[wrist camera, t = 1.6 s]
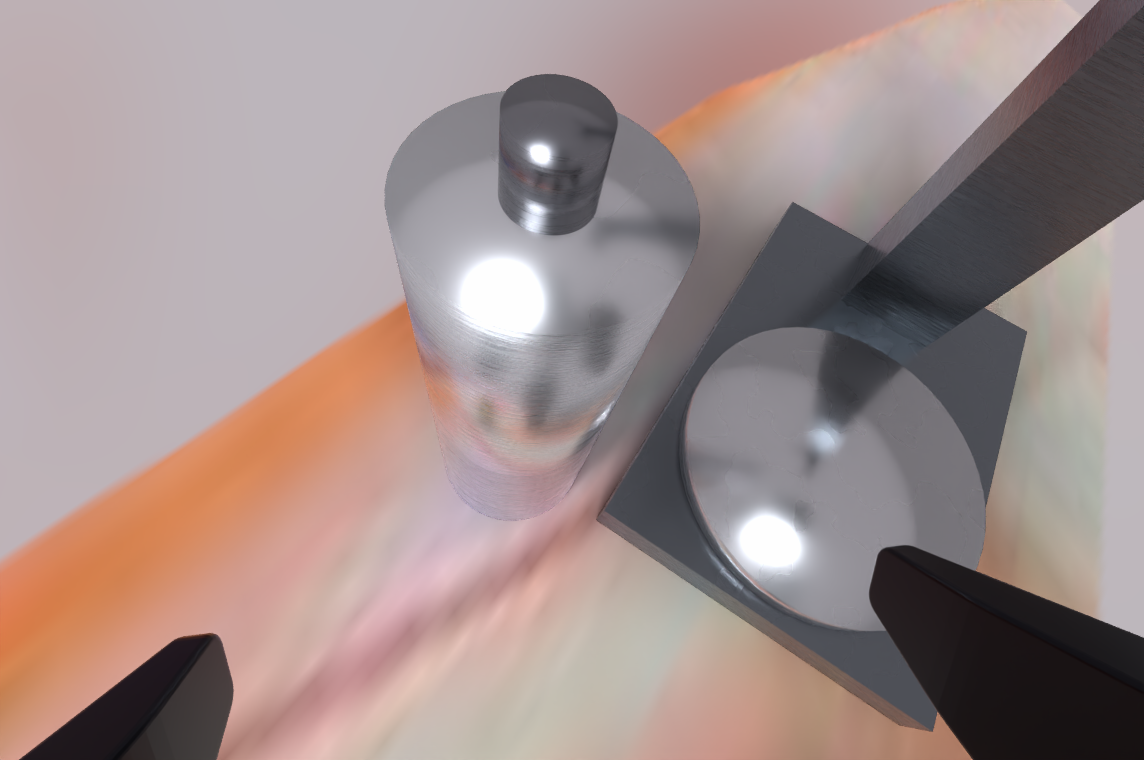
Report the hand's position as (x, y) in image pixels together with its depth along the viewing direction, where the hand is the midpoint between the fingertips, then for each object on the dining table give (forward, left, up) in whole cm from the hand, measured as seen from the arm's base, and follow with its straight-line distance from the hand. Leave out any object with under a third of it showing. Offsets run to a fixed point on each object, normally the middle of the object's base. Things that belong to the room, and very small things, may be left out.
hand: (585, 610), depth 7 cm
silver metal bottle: (+6, -1, -12) cm, 13 cm away
